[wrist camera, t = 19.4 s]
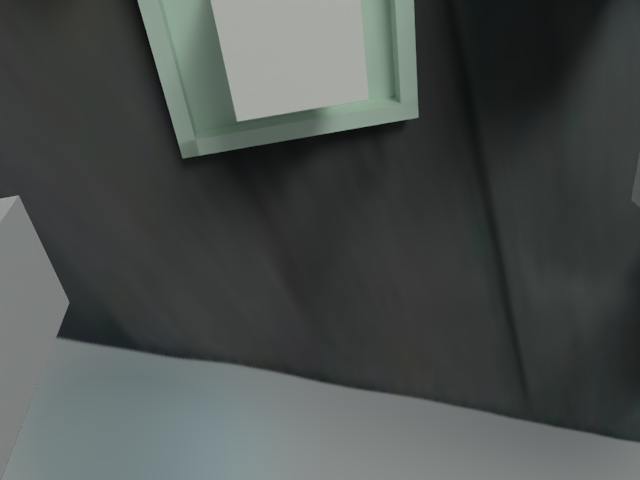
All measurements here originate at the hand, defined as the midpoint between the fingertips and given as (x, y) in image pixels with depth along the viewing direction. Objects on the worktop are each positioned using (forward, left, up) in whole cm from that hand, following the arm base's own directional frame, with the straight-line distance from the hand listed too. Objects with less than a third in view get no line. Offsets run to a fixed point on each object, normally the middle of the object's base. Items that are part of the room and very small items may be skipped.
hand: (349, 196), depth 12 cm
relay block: (0, 0, -22) cm, 22 cm away
